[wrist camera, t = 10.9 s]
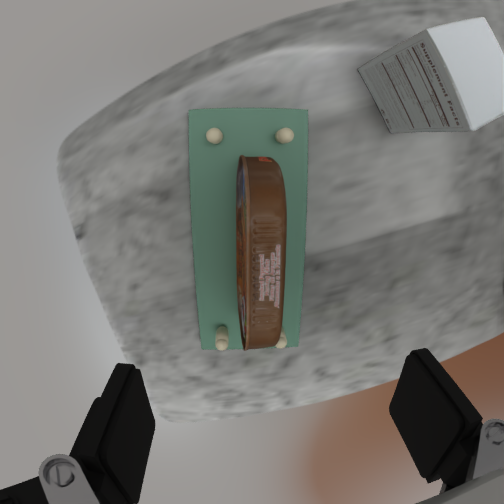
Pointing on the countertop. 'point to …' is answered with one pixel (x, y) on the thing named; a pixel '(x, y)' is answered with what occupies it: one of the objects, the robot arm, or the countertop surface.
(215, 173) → the green peg board
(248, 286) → the tin
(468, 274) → the countertop surface
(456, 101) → the supplement box
